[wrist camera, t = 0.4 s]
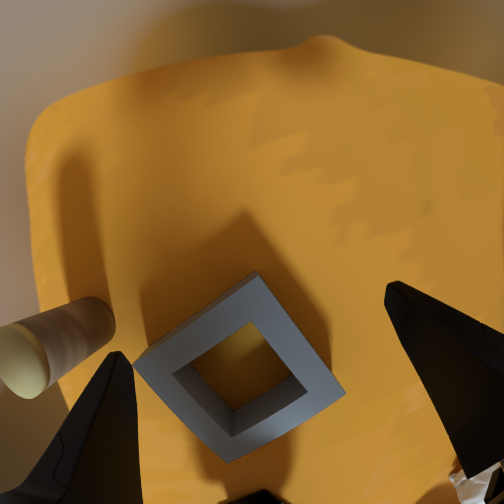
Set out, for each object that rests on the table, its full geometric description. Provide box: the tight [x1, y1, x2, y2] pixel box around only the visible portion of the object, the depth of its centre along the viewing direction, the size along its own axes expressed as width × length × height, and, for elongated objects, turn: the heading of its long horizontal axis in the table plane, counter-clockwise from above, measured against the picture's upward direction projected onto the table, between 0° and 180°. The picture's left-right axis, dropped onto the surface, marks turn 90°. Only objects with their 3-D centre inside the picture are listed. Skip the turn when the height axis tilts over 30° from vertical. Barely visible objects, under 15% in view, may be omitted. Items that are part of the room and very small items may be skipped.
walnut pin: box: [0, 297, 115, 399], centre depth 17 cm, size 4×4×11 cm
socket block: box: [132, 270, 346, 463], centre depth 21 cm, size 11×11×4 cm
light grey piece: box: [449, 462, 500, 504], centre depth 20 cm, size 6×8×12 cm
